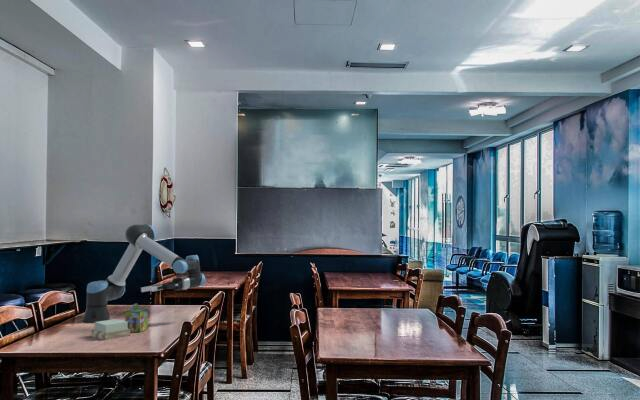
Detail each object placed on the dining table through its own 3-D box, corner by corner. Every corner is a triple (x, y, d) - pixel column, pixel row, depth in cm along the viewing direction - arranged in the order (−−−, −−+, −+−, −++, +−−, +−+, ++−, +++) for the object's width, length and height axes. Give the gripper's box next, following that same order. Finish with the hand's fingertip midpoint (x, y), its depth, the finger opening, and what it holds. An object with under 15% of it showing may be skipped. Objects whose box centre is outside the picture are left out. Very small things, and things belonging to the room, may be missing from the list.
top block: (94, 329, 279) (94, 322, 279) (115, 326, 288) (116, 318, 288) (105, 332, 271) (106, 325, 272) (127, 329, 281) (127, 321, 281)
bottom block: (91, 337, 279) (91, 329, 279) (116, 333, 290) (116, 325, 290) (105, 341, 270) (105, 333, 270) (130, 336, 281) (130, 329, 281)
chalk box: (139, 332, 288) (140, 305, 289) (124, 332, 290) (124, 304, 290) (148, 329, 297) (148, 302, 298) (133, 328, 299) (134, 302, 299)
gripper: (191, 289, 305) (156, 295, 291) (171, 290, 323) (138, 296, 309) (189, 276, 306) (154, 282, 291) (170, 278, 324) (136, 283, 310)
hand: (146, 289), depth 300 cm, fingers open, 13 cm apart
